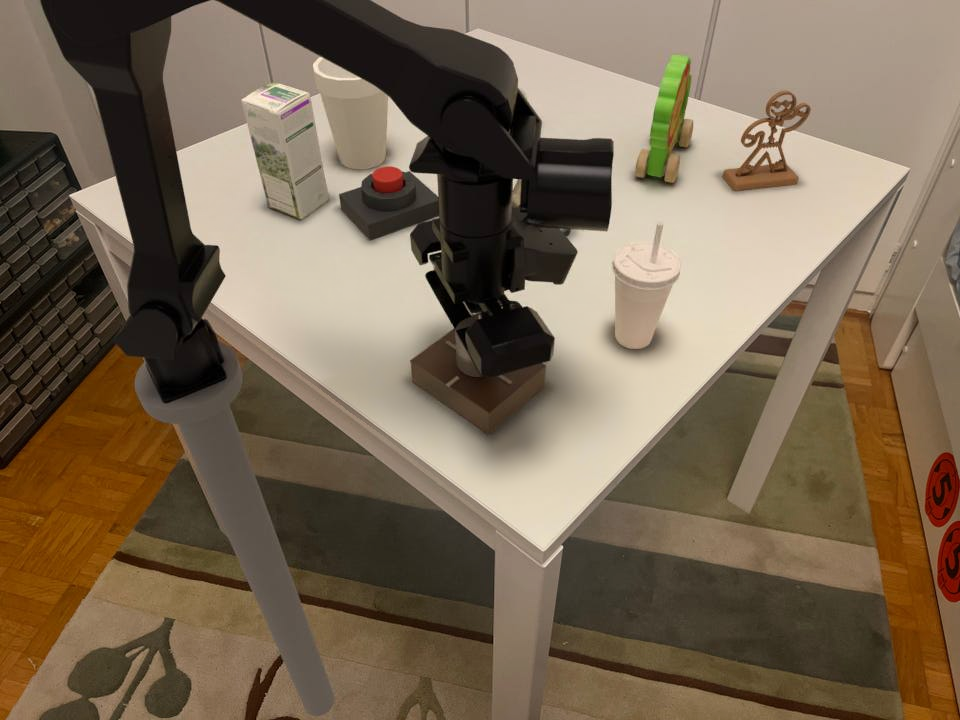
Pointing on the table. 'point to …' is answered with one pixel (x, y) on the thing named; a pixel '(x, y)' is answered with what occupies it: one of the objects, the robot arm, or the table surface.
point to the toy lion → (668, 122)
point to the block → (389, 206)
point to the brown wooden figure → (770, 173)
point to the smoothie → (642, 288)
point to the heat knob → (461, 354)
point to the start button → (387, 179)
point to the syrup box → (286, 148)
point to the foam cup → (353, 115)
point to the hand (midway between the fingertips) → (477, 358)
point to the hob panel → (474, 385)
